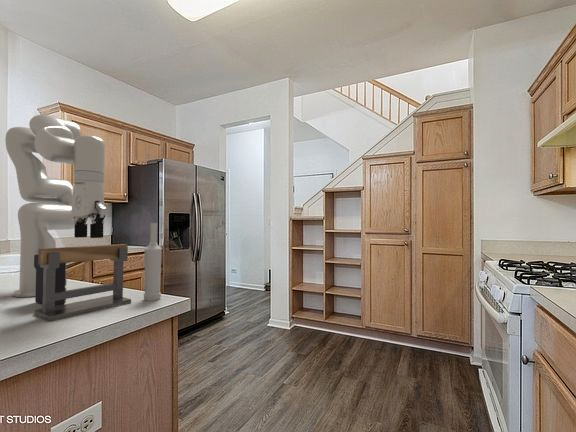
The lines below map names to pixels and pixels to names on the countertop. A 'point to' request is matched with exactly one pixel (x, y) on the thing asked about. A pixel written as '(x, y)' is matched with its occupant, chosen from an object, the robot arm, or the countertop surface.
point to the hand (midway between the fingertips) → (88, 237)
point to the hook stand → (80, 291)
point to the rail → (81, 253)
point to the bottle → (152, 267)
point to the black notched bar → (59, 281)
